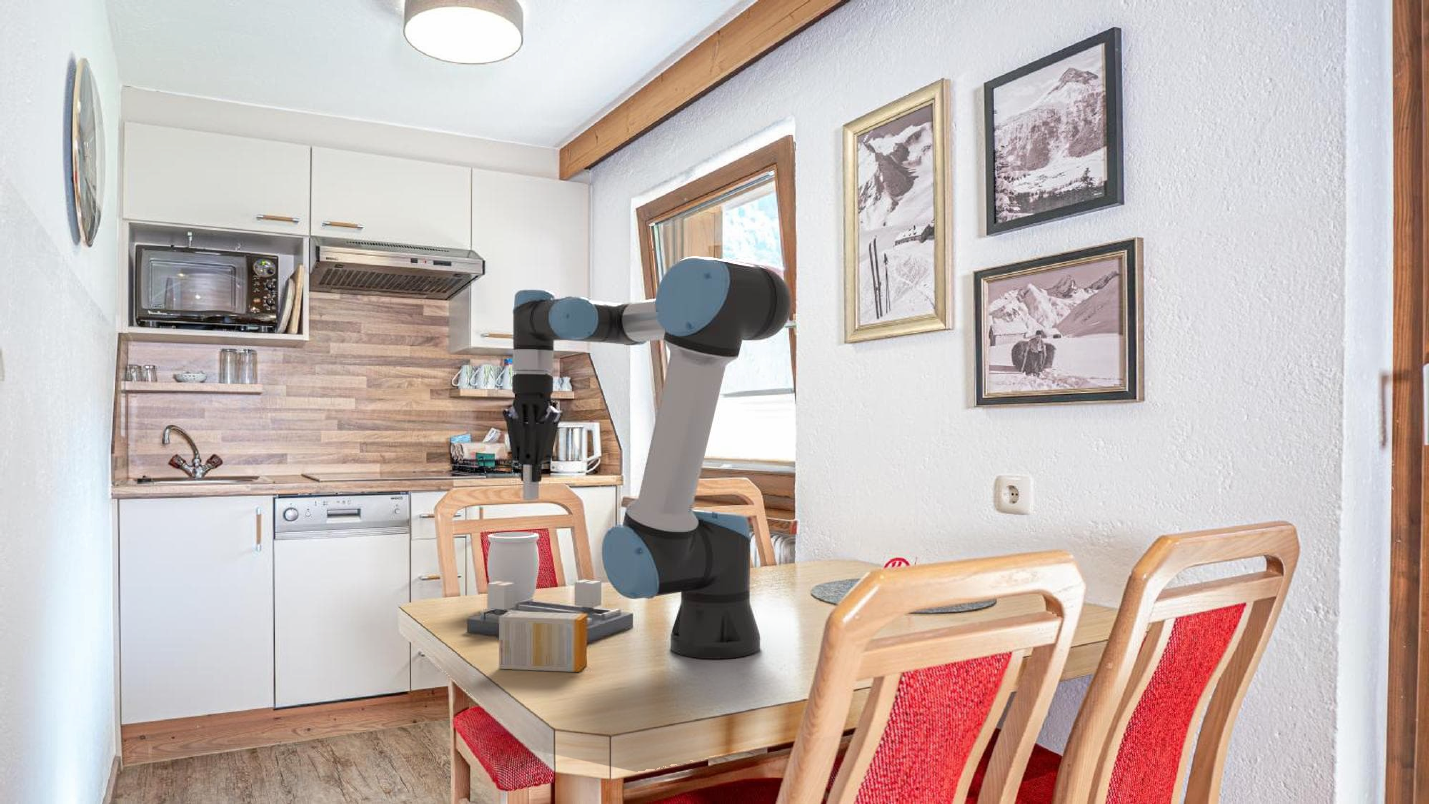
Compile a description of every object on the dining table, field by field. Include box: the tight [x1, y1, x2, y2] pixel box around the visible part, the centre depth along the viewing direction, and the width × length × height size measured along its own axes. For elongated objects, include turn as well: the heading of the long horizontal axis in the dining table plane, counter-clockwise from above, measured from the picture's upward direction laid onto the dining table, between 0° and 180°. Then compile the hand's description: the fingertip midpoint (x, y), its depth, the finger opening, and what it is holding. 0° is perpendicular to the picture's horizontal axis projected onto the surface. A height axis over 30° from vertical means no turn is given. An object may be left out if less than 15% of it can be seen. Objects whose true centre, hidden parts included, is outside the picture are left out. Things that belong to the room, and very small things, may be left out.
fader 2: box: [574, 579, 602, 613], centre depth 173 cm, size 4×3×6 cm
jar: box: [486, 531, 540, 603], centre depth 191 cm, size 11×10×15 cm
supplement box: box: [498, 611, 588, 673], centre depth 145 cm, size 8×5×13 cm
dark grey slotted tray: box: [466, 598, 634, 644], centre depth 171 cm, size 24×18×4 cm
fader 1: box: [486, 581, 515, 615], centre depth 171 cm, size 4×3×6 cm
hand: (530, 499), depth 175 cm, fingers closed
